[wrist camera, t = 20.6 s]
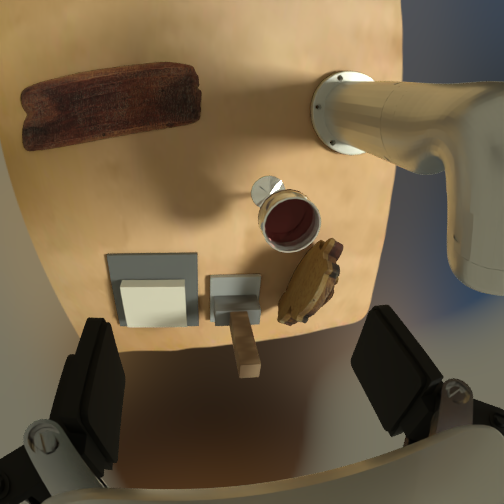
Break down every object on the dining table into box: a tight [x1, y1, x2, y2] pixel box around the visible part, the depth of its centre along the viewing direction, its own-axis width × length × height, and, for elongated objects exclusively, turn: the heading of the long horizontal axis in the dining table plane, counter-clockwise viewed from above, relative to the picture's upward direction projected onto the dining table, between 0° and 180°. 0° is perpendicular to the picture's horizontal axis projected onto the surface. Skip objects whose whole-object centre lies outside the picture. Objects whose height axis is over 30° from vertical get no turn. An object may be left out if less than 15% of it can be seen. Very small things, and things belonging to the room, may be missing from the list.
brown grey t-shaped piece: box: [213, 295, 261, 378], centre depth 45 cm, size 7×3×15 cm, turn 85°
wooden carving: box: [277, 238, 343, 326], centre depth 47 cm, size 16×5×10 cm, turn 158°
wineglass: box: [251, 176, 321, 253], centre depth 39 cm, size 7×7×12 cm
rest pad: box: [210, 274, 261, 322], centre depth 52 cm, size 8×9×1 cm
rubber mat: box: [107, 253, 199, 326], centre depth 48 cm, size 14×14×1 cm
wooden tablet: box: [21, 62, 201, 151], centre depth 34 cm, size 26×2×10 cm
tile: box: [120, 279, 187, 327], centre depth 48 cm, size 10×2×8 cm
